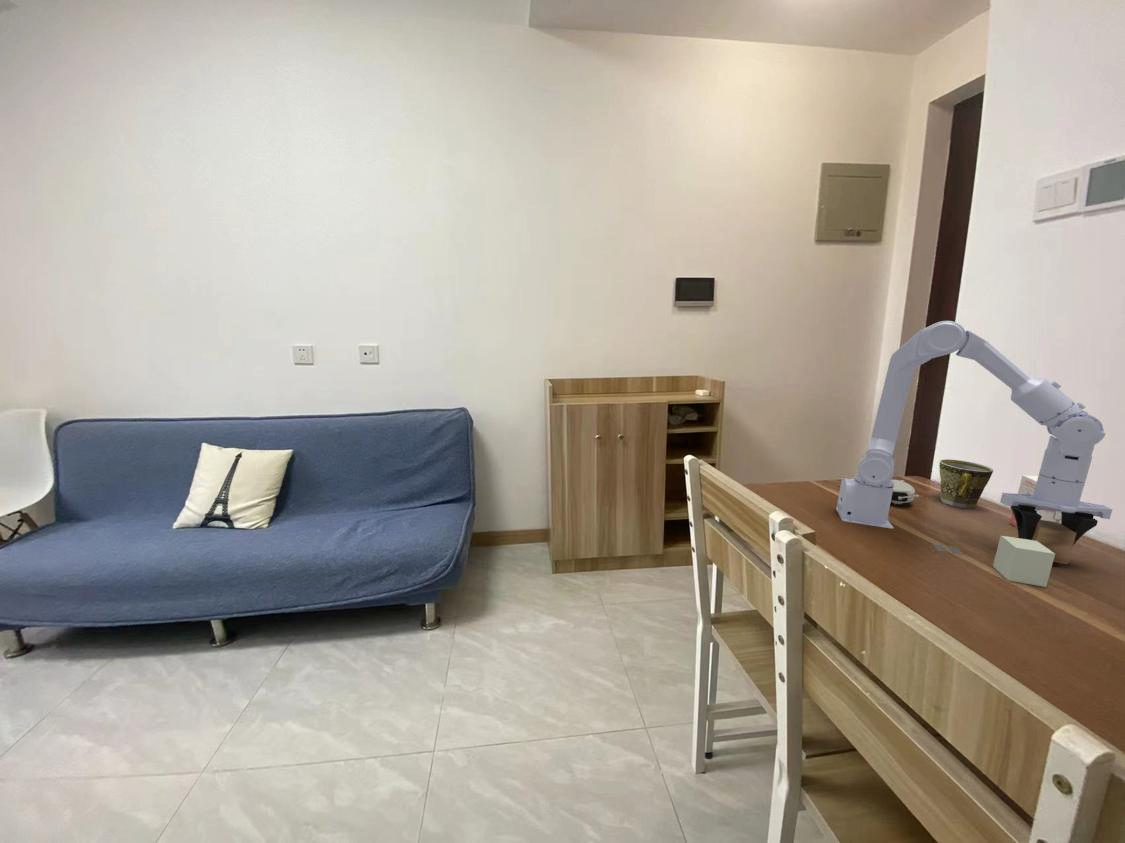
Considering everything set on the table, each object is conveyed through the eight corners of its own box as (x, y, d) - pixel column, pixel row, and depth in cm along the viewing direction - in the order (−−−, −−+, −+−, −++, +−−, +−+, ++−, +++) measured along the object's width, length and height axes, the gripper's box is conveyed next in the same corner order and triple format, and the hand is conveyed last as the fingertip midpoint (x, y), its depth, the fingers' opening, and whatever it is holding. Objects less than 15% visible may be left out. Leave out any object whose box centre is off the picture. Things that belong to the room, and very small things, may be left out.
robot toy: (846, 504, 114) (920, 511, 108) (848, 487, 113) (922, 493, 107) (838, 489, 125) (905, 494, 119) (839, 473, 124) (906, 477, 118)
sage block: (1007, 580, 78) (1016, 547, 76) (992, 566, 82) (1000, 535, 81) (1046, 587, 76) (1055, 553, 75) (1028, 572, 81) (1036, 540, 79)
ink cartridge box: (1007, 524, 103) (1023, 460, 100) (1033, 526, 102) (1050, 463, 99) (1038, 541, 95) (1056, 472, 92) (1066, 544, 94) (1086, 475, 91)
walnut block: (1031, 558, 84) (1040, 527, 83) (1016, 546, 89) (1024, 517, 87) (1067, 564, 82) (1076, 533, 81) (1050, 551, 87) (1058, 522, 86)
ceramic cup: (930, 493, 121) (938, 456, 119) (980, 502, 116) (989, 464, 113) (933, 507, 111) (942, 468, 109) (988, 519, 105) (999, 477, 103)
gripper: (1022, 478, 81) (1005, 548, 84) (1133, 490, 76) (1111, 565, 79) (1001, 467, 88) (985, 533, 91) (1103, 478, 83) (1082, 547, 86)
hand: (1042, 547), depth 85 cm, fingers closed on walnut block, 5 cm apart
